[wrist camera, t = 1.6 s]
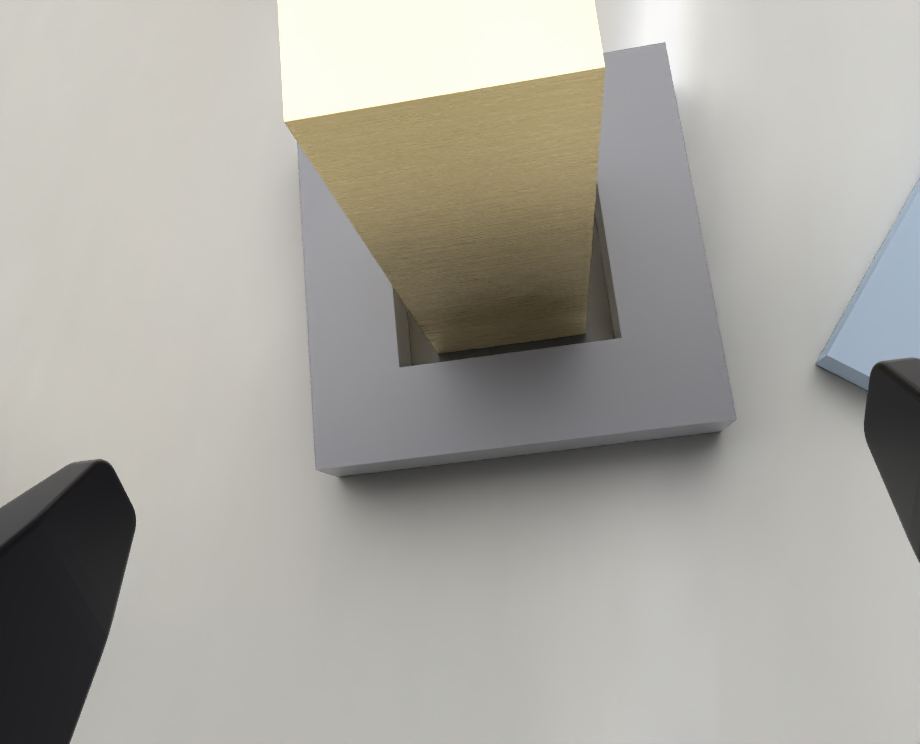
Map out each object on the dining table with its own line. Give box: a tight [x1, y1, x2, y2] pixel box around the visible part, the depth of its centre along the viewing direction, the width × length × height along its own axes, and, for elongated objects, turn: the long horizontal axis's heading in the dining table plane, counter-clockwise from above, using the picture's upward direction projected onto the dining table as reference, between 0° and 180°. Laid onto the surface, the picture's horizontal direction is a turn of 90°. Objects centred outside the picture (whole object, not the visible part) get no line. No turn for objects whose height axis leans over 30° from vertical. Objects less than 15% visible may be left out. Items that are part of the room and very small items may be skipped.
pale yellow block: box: [278, 0, 605, 354], centre depth 17 cm, size 4×4×13 cm
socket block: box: [297, 42, 736, 477], centre depth 23 cm, size 11×11×2 cm
